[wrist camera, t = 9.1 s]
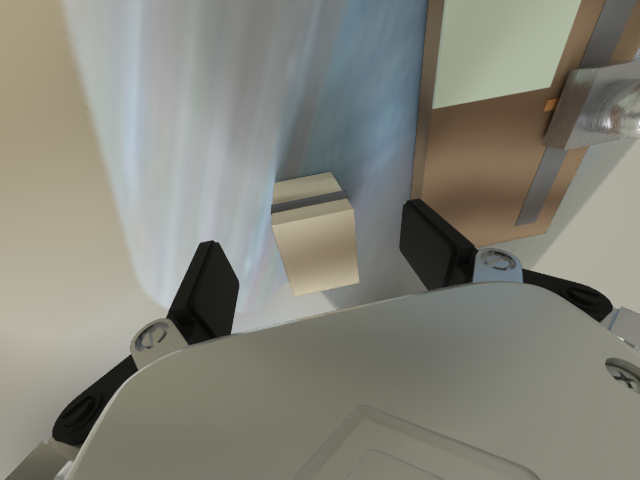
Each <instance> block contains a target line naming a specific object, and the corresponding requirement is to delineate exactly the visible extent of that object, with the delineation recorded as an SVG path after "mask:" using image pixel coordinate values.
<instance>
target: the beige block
mask: <svg viewBox="0 0 640 480" xmlns="http://www.w3.org/2000/svg"><path fill="white" fill-rule="evenodd" d="M271 215H272V221H271V227H272V230H273V233H274V236H275V239H276V242H277V246H278V249H279V252H280V255H281V258H282V261H283V264H284V267H285V271H286V274H287V277H288V280H289V283H290V286H291V289H292V292H293V296H294V297H296V296H301V295H305V294H310V293H314V292H319V291H324V290H328V289H333V288H338V287H342V286H347V285H351V284H356V283H359V273H358V259H357V246H356V232H355V219H354V208H353V207H352V205H351V204H350V202H349V200H348V196H347V195H346V193H345V192H344V190H342V189H341V187H340V186H339V184H338V183H337V181H336V179H335V178H334V176H333V174H332V173H331V172H326V173H321V174H316V175H311V176H306V177H301V178H296V179H291V180H286V181H281V182H276V183H274V191H273V205H271Z"/></svg>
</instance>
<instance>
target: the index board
mask: <svg viewBox="0 0 640 480" xmlns="http://www.w3.org/2000/svg"><path fill="white" fill-rule="evenodd" d="M444 2H445V0H428V8H427V20H426V31H425V42H424V54H423V65H422V76H421V87H420V99H419V110H418V121H417V133H416V144H415V155H414V166H413V178H412V189H411V200H413V199H418V198H420V199H421V200H422V201H424V202H425V203H426V204H427V205H428V206H429V207H431V208H432V209H433V210H434V211H435V212H436V213H438V214H439V215H440V216H441V217H442V218H443V219H445V220H446V221H447V222H448V223H449V224H450V225H452V226H453V227H454V228H455V229H456V230H457V231H459V232H460V233H461V234H462V235H463V236H465V237H466V238H467V239H468V240H469V241H470V242H472V243H473V244H474V245H475V248H477V247H482V246H486V245H491V244H496V243H501V242H505V241H510V240H515V239H519V238H524V237H529V236H533V235H538V234H543V233H546V231H547V229H548V227H549V225H550V223H551V221H552V219H553V217H554V215H555V213H556V211H557V209H558V207H559V205H560V203H561V201H562V199H563V197H564V195H565V193H566V191H567V189H568V187H569V185H570V183H571V181H572V179H573V177H574V175H575V173H576V171H577V169H578V167H579V165H580V163H581V161H582V159H583V157H584V155H585V153H586V151H587V149H588V147H589V145H588V146H583V147H578V148H573V149H568V150H560V149H555V148H550V147H546V146H542V143H543V140H544V138H545V135H546V133H547V130H548V128H549V125H550V122H551V120H552V117H553V115H554V112H555V110H556V107H557V105H558V102H559V99H560V97H561V94H562V92H563V89H564V87H565V84H566V81H567V79H568V76H569V74H570V71H571V70H574V69H579V68H585V67H590V66H596V65H601V64H606V63H612V62H617V61H623V60H628V59H633V58H634V56H635V54H636V52H637V50H638V48H639V46H640V0H581V3H580V6H579V8H578V11H577V14H576V17H575V20H574V22H573V25H572V28H571V31H570V33H569V36H568V39H567V42H566V45H565V47H564V50H563V53H562V56H561V58H560V61H559V64H558V67H557V70H556V72H555V75H554V78H553V81H552V83H551V86H550V87H548V88H543V89H538V90H532V91H527V92H521V93H516V94H511V95H505V96H500V97H495V98H489V99H484V100H479V101H473V102H468V103H463V104H457V105H452V106H447V107H441V108H436V109H432V104H433V95H434V87H435V78H436V70H437V61H438V53H439V44H440V36H441V27H442V19H443V10H444Z"/></svg>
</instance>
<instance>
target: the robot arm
mask: <svg viewBox="0 0 640 480" xmlns="http://www.w3.org/2000/svg"><path fill="white" fill-rule="evenodd" d="M399 247H400V251H401V253H402V254H403V255H404V257H405V258H406V260H407V261H408V263H409V264H410V265H411V267H412V268H413V270H414V271H415V272H416V274H417V275H418V277H419V278H420V280H421V281H422V282H423V284H424V285H425V287H426V288H427V289H428V291H424V292H419V293H414V294H410V295H405V296H401V297H396V298H391V299H387V300H382V301H377V302H373V303H368V304H363V305H359V306H354V307H350V308H345V309H341V310H336V311H332V312H327V313H323V314H319V315H314V316H310V317H305V318H300V319H296V320H291V321H287V322H283V323H278V324H274V325H269V326H265V327H260V328H256V329H252V330H247V331H243V332H240V333H235V334H231V330H232V324H233V318H234V313H235V308H236V302H237V296H238V291H239V281H238V278H237V277H236V275H235V273H234V271H233V269H232V267H231V265H230V263H229V261H228V259H227V257H226V255H225V253H224V252H223V250H222V248H221V246H220V244H219V243H218V242H216V243H215V242H214V241H213V240H212V241H207V242H202V243H200V244H199V246H198V248H197V250H196V253H195V255H194V257H193V259H192V261H191V263H190V266H189V268H188V270H187V272H186V274H185V277H184V279H183V281H182V283H181V285H180V287H179V290H178V292H177V294H176V296H175V298H174V300H173V303H172V305H171V307H170V309H169V312H168V315H167V317H166V318H163V319H158V320H155V321H153V322H151V323H149V324H147V325H146V326H145V327H143V328H142V329H141V330H140V331H139V332H138V333H137V334H136V335H135V337H134V338H133V340H132V341H131V345H130V352H131V355H129V356H128V357H127V358H126V359H124V360H123V361H122V362H120V363H119V364H118V365H117V366H115V367H114V368H113V369H112V370H110V371H109V372H108V373H107V374H106V375H104V376H103V377H102V378H100V379H99V380H98V381H97V382H95V383H94V384H93V385H91V386H90V387H89V388H88V389H87V390H85V391H84V392H83V393H81V394H80V395H79V396H78V397H76V398H75V399H74V400H73V401H72V402H71V403H70V404H69V405H68V406H67V407H66V408H65V409H64V410H63V411H62V413H61V414H60V416H59V417H58V419H57V420H56V422H55V425H54V427H53V431H52V437H51V438H50V440H49V441H48V442H43V441H42V442H41V443H40V444H39V445H38V446H37V447H36V448H35V449H34V450H33V451H32V452H31V453H30V454H29V455H28V456H27V457H26V458H25V459H24V460H23V461H22V462H21V463H20V465H18V467H17V468H16V469H15V470H14V471H13V472H12V473H11V474H10V475H9V476H8V477H7V478H6V479H5V480H640V314H639V313H636V312H634V311H631V310H629V309H626V308H624V307H621V308H619V309H616V308H613V306H612V304H611V302H610V300H609V299H608V298H606V296H604V295H603V294H601V293H600V292H598V291H597V290H595V289H593V288H591V287H589V286H586V285H583V284H579V283H576V282H572V281H568V280H564V279H560V278H556V277H553V276H549V275H545V274H541V273H537V272H534V271H530V270H526V269H522V265H521V262H520V261H519V259H518V258H517V257H515V256H514V255H512V254H511V253H508V252H506V251H503V250H500V249H493V248H488V249H482V250H480V251H478V250H477V249H476V248H475V245H474V244H473V243H472V242H470V241H469V240H468V239H467V238H466V237H465V236H463V235H462V234H461V233H460V232H459V231H457V230H456V229H455V228H454V227H453V226H452V225H450V224H449V223H448V222H447V221H446V220H445V219H443V218H442V217H441V216H440V215H439V214H438V213H436V212H435V211H434V210H433V209H432V208H431V207H429V206H428V205H427V204H426V203H425V202H424V201H422V200H421V199H420V198H418V199H413V200H408V201H407V202H406V204H404V205H403V212H402V223H401V234H400V245H399Z"/></svg>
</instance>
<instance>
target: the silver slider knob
mask: <svg viewBox="0 0 640 480" xmlns="http://www.w3.org/2000/svg"><path fill="white" fill-rule="evenodd" d="M620 137H628V138H635V139H640V58H636V59H628V60H623V61H617V62H612V63H606V64H601V65H596V66H590V67H585V68H579V69H574V70H571V71H570V74H569V76H568V79H567V81H566V84H565V87H564V89H563V92H562V94H561V97H560V99H559V102H558V105H557V107H556V110H555V112H554V115H553V117H552V120H551V122H550V125H549V128H548V130H547V133H546V135H545V138H544V140H543V143H542V146H546V147H550V148H555V149H560V150H568V149H573V148H578V147H583V146H588V145H593V144H598V143H603V142H608V141H613V140H618V139H619V138H620Z"/></svg>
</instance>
